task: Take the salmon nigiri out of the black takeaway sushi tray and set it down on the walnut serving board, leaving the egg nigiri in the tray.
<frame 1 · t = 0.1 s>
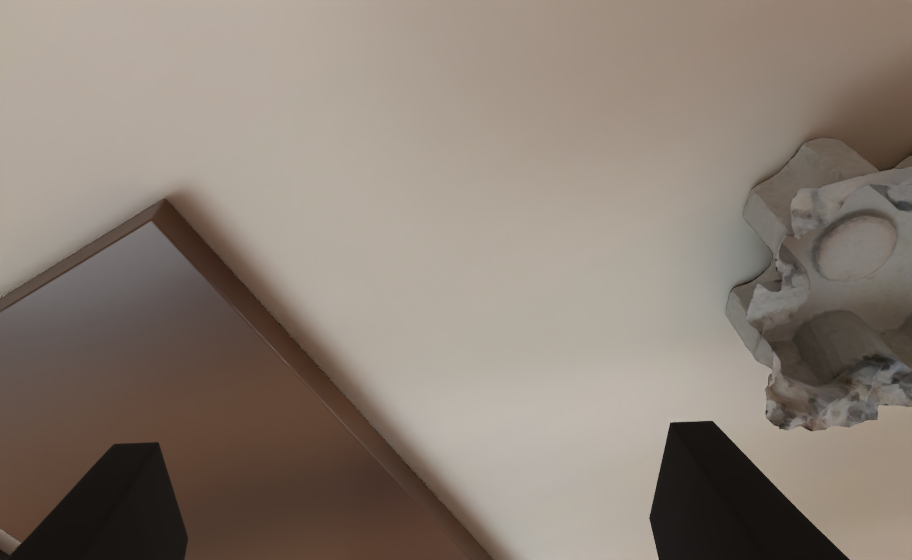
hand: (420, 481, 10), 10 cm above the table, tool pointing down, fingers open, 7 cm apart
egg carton: (906, 230, 21), on the table
serving board: (233, 500, 25), on the table
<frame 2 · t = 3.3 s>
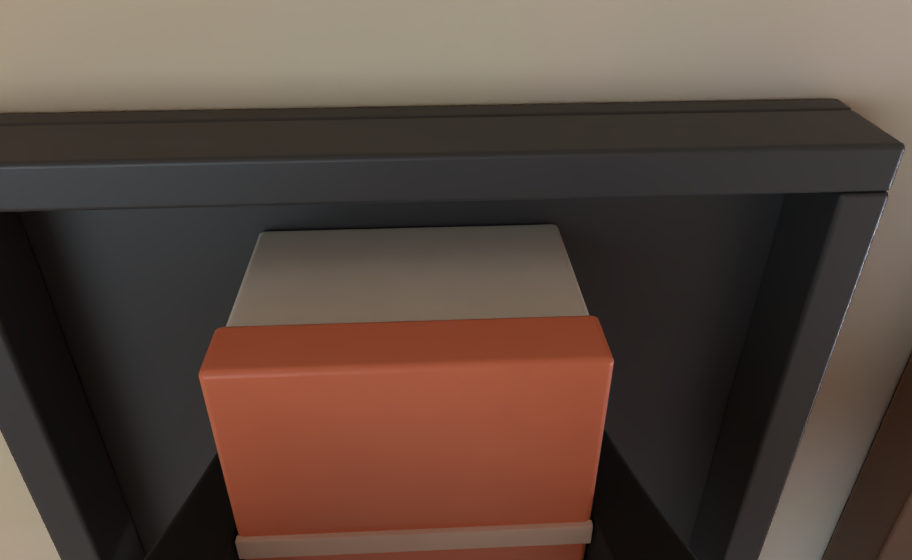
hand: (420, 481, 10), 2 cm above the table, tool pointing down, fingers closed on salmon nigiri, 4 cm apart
salmon nigiri: (417, 418, 11), resting on sushi tray, touching gripper
when the fingers open (2 cm above the table, at t = 7.7 s): salmon nigiri stays where it is, resting on serving board.
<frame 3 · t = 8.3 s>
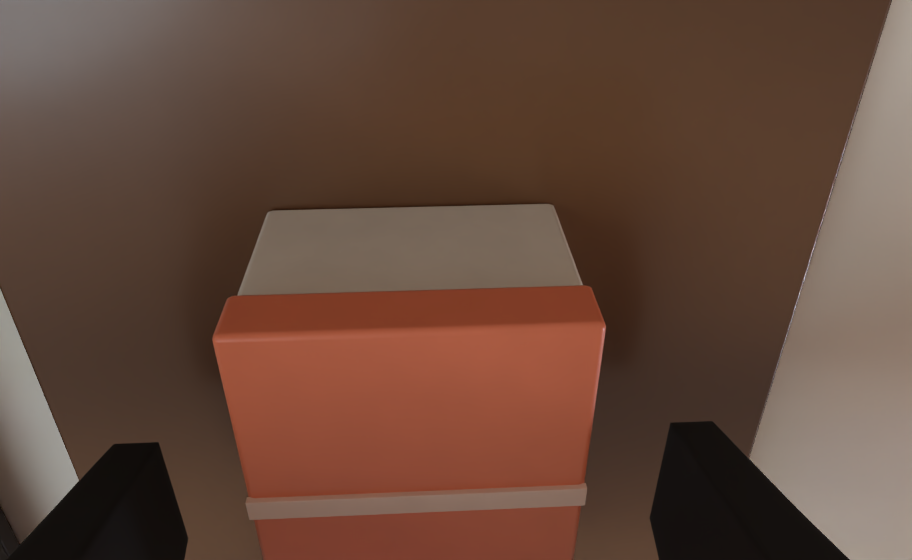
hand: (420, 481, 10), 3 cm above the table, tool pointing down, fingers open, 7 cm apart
salmon nigiri: (418, 394, 12), point 1 cm above the table, touching serving board
serving board: (418, 351, 13), on the table
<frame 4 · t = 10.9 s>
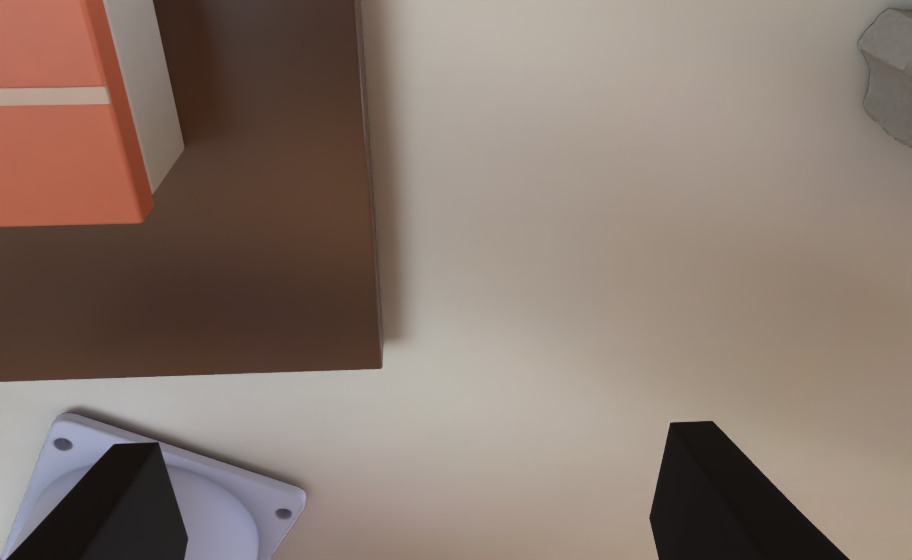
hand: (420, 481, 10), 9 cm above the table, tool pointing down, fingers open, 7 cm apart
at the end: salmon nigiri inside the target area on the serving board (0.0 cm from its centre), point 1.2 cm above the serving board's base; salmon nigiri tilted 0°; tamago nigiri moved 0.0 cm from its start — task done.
